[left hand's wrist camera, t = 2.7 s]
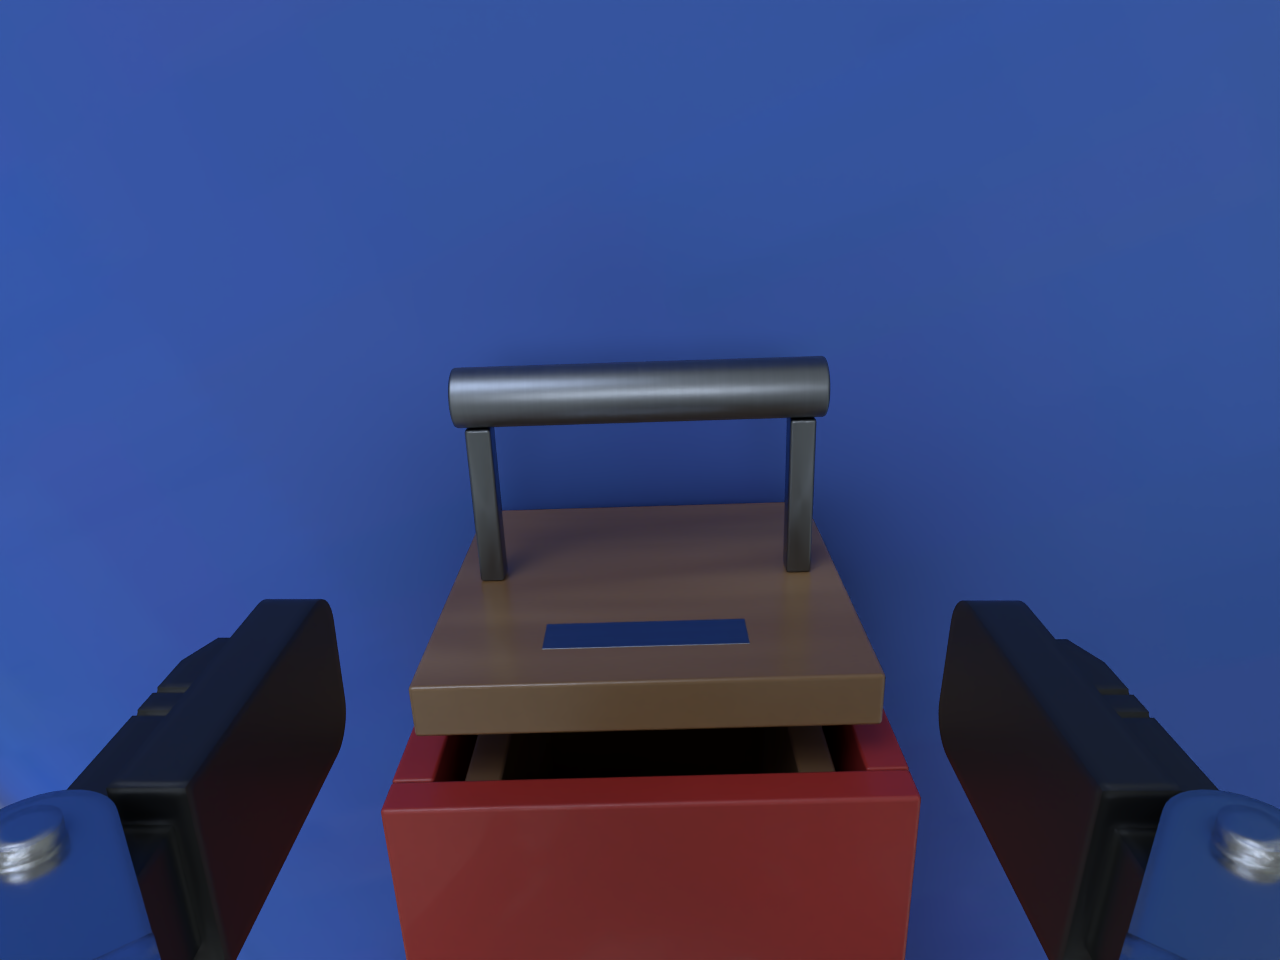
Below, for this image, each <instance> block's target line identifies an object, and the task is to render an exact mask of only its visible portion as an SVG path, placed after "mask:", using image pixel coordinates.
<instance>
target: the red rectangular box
mask: <svg viewBox="0 0 1280 960" xmlns="http://www.w3.org/2000/svg"><path fill="white" fill-rule="evenodd" d="M822 729H823V732H824V735H825V739H826V742H827V745H828V748H829V752H830V755H831V758H832V761H833V765H834V768H835V771H836V772H798V773H759V774H720V775H681V776H642V777H603V778H564V779H525V780H486V781H465V779H466V776H467V772H468V768H469V765H470V761H471V758H472V754H473V751H474V747H475V743H476V740H477V736H478V735H445V736H417V735H416V733H415V728H413V730H412V733H411V735H410V738H409V741H408V743H407V746H406V748H405V751H404V753H403V756H402V758H401V761H400V763H399V766H398V768H397V771H396V774H395V776H394V779H393V784H392V785H391V787H390V790H389V792H388V795H387V797H386V800H385V802H384V805H383V808H382V810H381V815H382V821H383V826H384V832H385V838H386V844H387V849H388V855H389V861H390V867H391V872H392V878H393V884H394V890H395V896H396V901H397V907H398V913H399V919H400V924H401V930H402V936H403V942H404V947H405V953H406V959H407V960H905V952H906V942H907V932H908V922H909V912H910V902H911V892H912V882H913V873H914V863H915V853H916V843H917V833H918V823H919V813H920V803H921V797H920V795H919V792H918V790H917V788H916V785H915V783H914V781H913V778H912V776H911V774H910V772H909V771H908V770H909V768H908V765H907V763H906V761H905V758H904V756H903V754H902V751H901V749H900V747H899V744H898V742H897V740H896V737H895V735H894V733H893V730H892V728H891V726H890V723H889V721H888V719H887V716H886V714H885V712H884V709H883V714H882V722H881V723H880V724H863V725H825V726H822Z"/></svg>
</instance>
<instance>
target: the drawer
mask: <svg viewBox="0 0 1280 960" xmlns="http://www.w3.org/2000/svg"><path fill="white" fill-rule="evenodd" d="M448 401H449V410H450V415H451V419H452V422H453V424H454V426H455V427H457V428H467V429H466V430H465V439H466V448H467V457H468V466H469V475H470V484H471V493H472V502H473V512H474V521H475V530H476V534H475V536H474V538H473V541H472V543H471V545H470V548H469V550H468V552H467V555H466V557H465V559H464V562H463V564H462V566H461V568H460V571H459V573H458V575H457V578H456V580H455V582H454V585H453V587H452V589H451V592H450V594H449V596H448V599H447V601H446V603H445V606H444V608H443V610H442V613H441V615H440V617H439V619H438V622H437V624H436V626H435V629H434V631H433V633H432V636H431V638H430V640H429V643H428V645H427V647H426V650H425V652H424V654H423V657H422V659H421V661H420V664H419V666H418V668H417V670H416V673H415V675H414V677H413V680H412V682H411V684H410V687H409V695H410V701H411V708H412V715H413V721H414V728H415V733H416V735H417V736H445V735H478V736H477V740H476V743H475V747H474V751H473V754H472V758H471V761H470V765H469V768H468V772H467V776H466V779H465V781H486V780H525V779H564V778H603V777H642V776H681V775H720V774H759V773H798V772H836V771H835V768H834V765H833V761H832V758H831V755H830V752H829V748H828V745H827V742H826V739H825V735H824V732H823V729H822V726H825V725H863V724H880V723H881V722H882V714H883V701H884V689H885V674H884V672H883V670H882V667H881V665H880V663H879V661H878V659H877V657H876V654H875V652H874V650H873V648H872V646H871V644H870V641H869V639H868V637H867V635H866V633H865V631H864V628H863V626H862V624H861V622H860V620H859V617H858V615H857V613H856V611H855V609H854V607H853V604H852V602H851V600H850V598H849V596H848V594H847V591H846V589H845V587H844V585H843V583H842V581H841V578H840V576H839V574H838V572H837V570H836V567H835V565H834V563H833V561H832V559H831V557H830V554H829V552H828V550H827V548H826V546H825V544H824V541H823V539H822V537H821V535H820V533H819V531H818V528H817V526H816V524H815V522H814V520H813V518H812V517H813V493H814V468H815V443H816V419H815V418H814V417H823V416H825V415H826V413H827V411H828V407H829V401H830V374H829V367H828V363H827V360H826V358H825V357H823V356H809V357H778V358H747V359H716V360H685V361H654V362H623V363H592V364H561V365H530V366H499V367H468V368H454V369H452V371H451V373H450V377H449V383H448ZM764 418H787V437H786V473H785V502H777V503H743V504H710V505H676V506H643V507H610V508H576V509H543V510H509V511H502V505H501V495H500V484H499V474H498V464H497V454H496V443H495V433H494V427H508V426H540V425H572V424H604V423H636V422H668V421H700V420H732V419H764Z"/></svg>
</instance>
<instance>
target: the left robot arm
mask: <svg viewBox="0 0 1280 960" xmlns="http://www.w3.org/2000/svg"><path fill="white" fill-rule="evenodd" d="M1128 690H1129V689H1128V688H1127V687H1126V686H1125V685H1124V684H1123V683H1122V682H1121V680H1120V679H1119V678H1118V677H1117V676H1116V675H1115V674H1114V673H1113V671H1112V670H1111V669H1110V668H1109V667H1108V666H1107V665H1106V664H1105V663H1104V662H1103V661H1101V660H1100V659H1098V658H1096V657H1095V656H1093V655H1092V654H1090V653H1088V652H1087V651H1085V650H1083V649H1082V648H1080V647H1079V646H1077V645H1075V644H1074V643H1072V642H1070V641H1069V640H1067V639H1055V638H1054V637H1053V636H1052V635H1051V634H1050V632H1049V631H1048V630H1047V629H1046V628H1045V626H1044V625H1043V624H1042V623H1041V622H1040V620H1039V619H1038V618H1037V617H1036V616H1035V615H1034V613H1033V612H1032V611H1031V610H1030V609H1029V607H1028V606H1027V605H1026V604H1025V603H1023V602H1022V601H960V602H959V603H957V605H956V606H955V609H954V611H953V615H952V619H951V626H950V632H949V639H948V646H947V653H946V660H945V667H944V674H943V680H942V687H941V694H940V701H939V728H940V735H941V740H942V744H943V747H944V750H945V753H946V755H947V757H948V759H949V761H950V763H951V765H952V767H953V769H954V771H955V773H956V775H957V777H958V779H959V781H960V783H961V785H962V787H963V789H964V791H965V793H966V795H967V797H968V799H969V801H970V803H971V805H972V807H973V809H974V811H975V813H976V815H977V817H978V819H979V821H980V823H981V825H982V827H983V829H984V831H985V833H986V835H987V837H988V839H989V841H990V843H991V845H992V847H993V849H994V851H995V853H996V855H997V857H998V859H999V861H1000V863H1001V865H1002V867H1003V869H1004V871H1005V873H1006V875H1007V877H1008V879H1009V881H1010V883H1011V885H1012V887H1013V889H1014V891H1015V893H1016V895H1017V897H1018V899H1019V901H1020V903H1021V905H1022V907H1023V909H1024V911H1025V913H1026V915H1027V917H1028V919H1029V921H1030V923H1031V925H1032V927H1033V929H1034V931H1035V933H1036V935H1037V937H1038V939H1039V941H1040V943H1041V945H1042V947H1043V949H1044V951H1045V953H1046V955H1047V957H1048V959H1049V960H1280V809H1278V808H1276V807H1274V806H1272V805H1269V804H1267V803H1264V802H1261V801H1259V800H1256V799H1253V798H1250V797H1247V796H1244V795H1240V794H1235V793H1231V792H1226V791H1219V790H1218V789H1217V788H1216V786H1215V785H1214V784H1213V783H1212V782H1211V781H1210V780H1209V779H1208V777H1207V776H1206V775H1205V774H1204V773H1203V772H1202V771H1201V770H1200V769H1199V767H1198V766H1197V765H1196V764H1195V763H1194V762H1193V761H1192V760H1191V759H1190V757H1189V756H1188V755H1187V754H1186V753H1185V752H1184V751H1183V750H1182V748H1181V747H1180V746H1179V745H1178V744H1177V743H1176V742H1175V741H1174V740H1173V738H1172V737H1171V736H1170V735H1169V734H1168V733H1167V732H1166V731H1165V730H1164V728H1163V727H1162V726H1161V725H1160V724H1159V723H1158V722H1157V721H1156V719H1155V718H1150V717H1149V712H1148V711H1147V709H1146V708H1145V707H1144V706H1143V705H1142V704H1141V703H1140V702H1139V700H1138V699H1137V698H1136V697H1135V696H1134V695H1129V692H1128ZM345 720H346V704H345V696H344V689H343V682H342V675H341V668H340V661H339V654H338V647H337V640H336V633H335V626H334V619H333V614H332V611H331V608H330V605H329V604H328V602H327V601H326V600H323V599H265V600H263V601H261V602H260V603H259V604H258V605H257V606H256V607H255V609H254V610H253V611H252V612H251V613H250V615H249V616H248V617H247V618H246V619H245V621H244V622H243V623H242V624H241V625H240V627H239V628H238V629H237V630H236V631H235V633H234V634H233V635H232V636H231V637H230V638H217V639H216V640H214V641H212V642H211V643H209V644H207V645H206V646H204V647H203V648H201V649H199V650H198V651H196V652H195V653H193V654H191V655H190V656H188V657H186V658H185V659H183V660H182V661H181V662H180V663H179V664H178V665H177V666H176V667H175V668H174V670H173V671H172V672H171V673H170V674H169V675H168V676H167V677H166V679H165V680H164V681H163V682H162V683H161V684H160V685H159V686H158V691H157V693H152V694H151V695H150V697H149V698H148V699H147V700H146V701H145V702H144V703H143V704H142V706H141V707H140V708H139V709H138V714H137V716H132V717H131V718H130V719H129V720H128V721H127V722H126V724H125V725H124V726H123V727H122V728H121V729H120V730H119V731H118V733H117V734H116V735H115V736H114V737H113V738H112V739H111V740H110V742H109V743H108V744H107V745H106V746H105V747H104V748H103V749H102V751H101V752H100V753H99V754H98V755H97V756H96V757H95V758H94V760H93V761H92V762H91V763H90V764H89V765H88V766H87V767H86V769H85V770H84V771H83V772H82V773H81V774H80V775H79V776H78V778H77V779H76V780H75V781H74V782H73V783H72V784H71V785H70V787H69V788H68V789H67V790H62V791H54V792H49V793H45V794H40V795H36V796H33V797H30V798H27V799H24V800H21V801H19V802H16V803H13V804H11V805H8V806H6V807H4V808H2V809H0V960H236V959H237V957H238V955H239V953H240V951H241V949H242V947H243V945H244V943H245V941H246V939H247V937H248V935H249V933H250V931H251V929H252V926H253V924H254V922H255V920H256V918H257V916H258V914H259V912H260V910H261V908H262V906H263V904H264V902H265V900H266V898H267V896H268V894H269V892H270V890H271V888H272V886H273V884H274V882H275V880H276V878H277V876H278V874H279V872H280V870H281V868H282V866H283V864H284V862H285V860H286V858H287V856H288V854H289V852H290V850H291V848H292V846H293V844H294V842H295V840H296V838H297V836H298V834H299V832H300V830H301V828H302V826H303V824H304V822H305V820H306V817H307V815H308V813H309V811H310V809H311V807H312V805H313V803H314V801H315V799H316V797H317V795H318V793H319V791H320V789H321V787H322V785H323V783H324V781H325V779H326V777H327V775H328V773H329V771H330V769H331V767H332V765H333V763H334V761H335V759H336V757H337V755H338V753H339V750H340V747H341V744H342V740H343V736H344V730H345Z"/></svg>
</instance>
